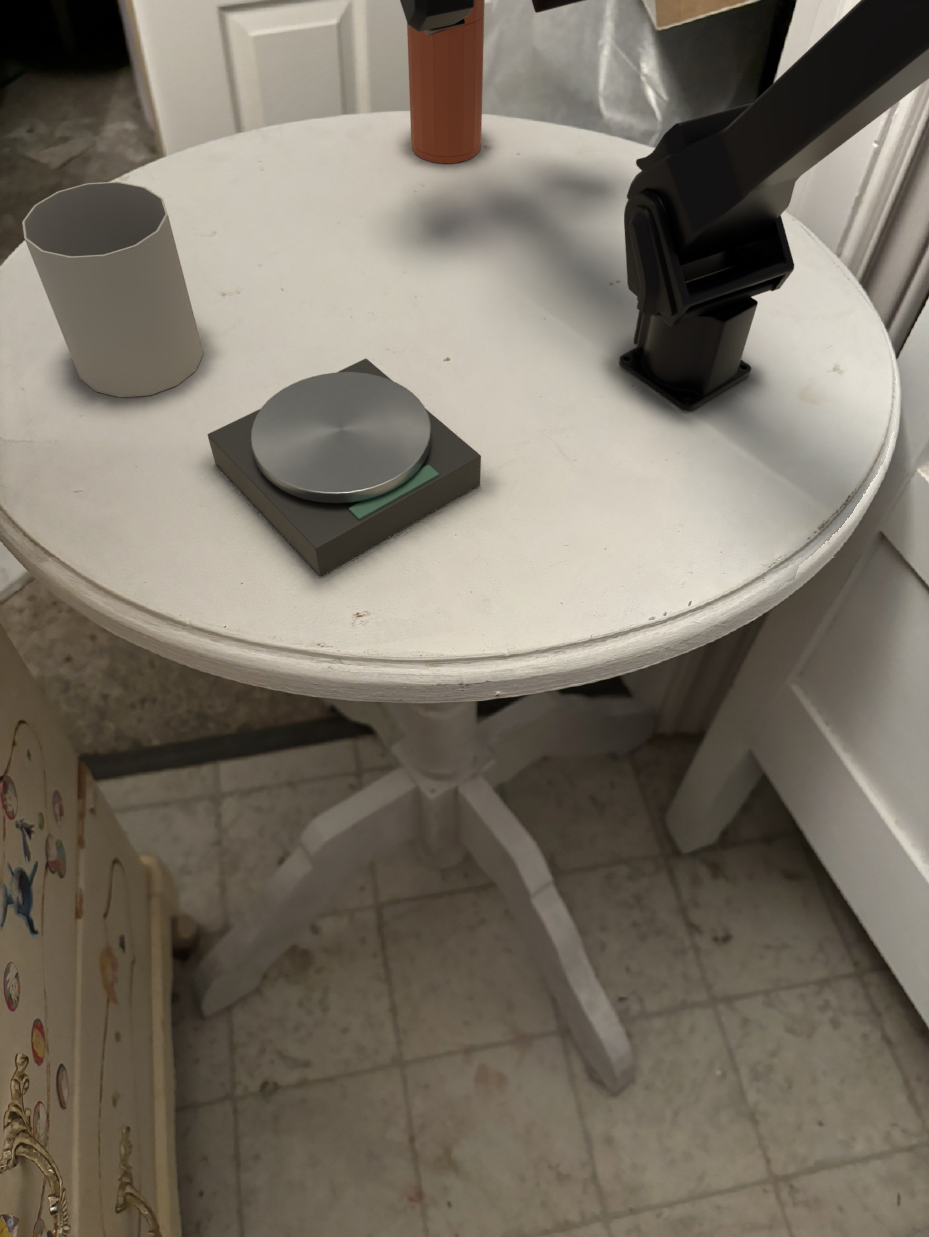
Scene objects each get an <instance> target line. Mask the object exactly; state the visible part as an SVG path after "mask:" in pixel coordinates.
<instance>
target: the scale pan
mask: <svg viewBox="0 0 929 1237" xmlns="http://www.w3.org/2000/svg"><path fill="white" fill-rule="evenodd" d="M336 372H337V373H336ZM336 372H329V373H322V374H318V375H313V376H310V377H306V378H303V379H301V380H298V381H296V382H293V383H292V384H289V385H288V386H285V387H284V388H282V389H280V390H279V391H277V392H276V393H275V394H274V395H272V396H271V397H270V398H269V399H267V401H266V402H265V403H264V404H263V405H262V406H261V407H260V408H259V409H260V411H259V412H258V414H257V415H256V418H255V420H254V422H253V425H252V429H251V447H252V451H253V455H254V458H255V461H256V464H257V466H258V467H259V469H260V471H261V472H262V473H263V475H264V476H265V477H266V478H267V479H268V480H269V481H270V482H271V483H272V484H274V485H275V486H277V487H278V488H280V489H281V490H283V491H285V492H287V493H289V494H291V495H293V496H296V497H299V498H302V499H306V500H310V501H315V502H323V503H350V502H356V501H363V500H366V499H370V498H374V497H377V496H380V495H382V494H385V493H387V492H389V491H391V490H393V489H395V488H397V487H399V486H400V485H402V484H403V483H405V482H406V481H407V480H409V479H410V478H411V477H412V476H413V475H414V474H415V473H416V472H417V471H418V470H419V469H420V467H421V466H422V464H423V463H424V461H425V459H426V457H427V455H428V453H429V449H430V446H431V424H430V419H429V415H428V413H427V411H426V409H427V408H426V407H425V405H424V404H423V403H422V401H421V400H420V398H418V397H417V396H416V394H414V392H412V391H411V390H409V389H408V388H407V387H405V386H403V385H402V384H400V383H398V382H396V381H394V380H392V379H391V380H392V381H391V380H389V379H386V378H383V377H380V376H376V375H371V374H366V373H357V372H338V371H336Z"/></svg>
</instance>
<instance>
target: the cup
mask: <svg viewBox="0 0 929 1237" xmlns="http://www.w3.org/2000/svg"><path fill="white" fill-rule="evenodd" d="M21 223H22V230H23V238H24V241H25V243H26V246H27V249H28V251H29V254H30V256H31V259H32V261H33V264H34V266H35V269H36V271H37V274H38V277H39V279H40V281H41V284H42V286H43V289H44V291H45V294H46V296H47V299H48V302H49V304H50V307H51V309H52V311H53V314H54V317H55V319H56V321H57V324H58V327H59V329H60V331H61V334H62V336H63V339H64V342H65V344H66V346H67V349H68V352H69V354H70V357H71V360H72V362H73V364H74V367H75V369H76V372H77V375H78V377H79V379H80V380H81V381H83V382H84V383H85V384H86V385H87V386H88V387H90V388H91V389H92V390H93V391H94V392H97V393H101V394H105V395H109V396H113V397H117V398H132V397H133V398H135V397H148V396H152V395H155V394H157V393H158V394H159V393H160V392H163V391H164V392H165V391H167V390H170V389H172V388H174V387H175V388H176V387H177V386H178V385H179V384H181V383H182V382H184V381H185V380H187V378H188V377H190V376H191V375H193V373H195V372H196V371H197V369H198V368H199V365H200V362H201V360H202V358H203V355H204V353H205V352H204V349H203V344H202V341H201V337H200V333H199V329H198V326H197V322H196V318H195V314H194V310H193V306H192V301H191V298H190V295H189V290H188V286H187V283H186V279H185V274H184V270H183V267H182V264H181V260H180V255H179V251H178V249H177V244H176V240H175V237H174V232H173V228H172V224H171V220H170V216H169V213H168V210H167V207H166V203H165V200H164V198H163V197H162V196H161V195H159V194H157V193H156V192H154V191H152V190H151V189H149V188H148V187H146V186H143V185H137V184H133V183H127V182H123V181H106V182H104V181H103V182H88V183H84V184H83V183H82V184H80V185H76V186H73V187H69V188H65V189H62V190H58V191H56V192H54V193H53V194H51V195H49V196H48V197H46V198H44V199H43V200H40V201H39V202H37V203H35V204H34V205H33V206H32V207H31V209H30V210H29V212H28V213H27V215H26V216H25V217H24V219H23V220H22V222H21Z"/></svg>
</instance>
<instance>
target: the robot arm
mask: <svg viewBox="0 0 929 1237" xmlns="http://www.w3.org/2000/svg"><path fill="white" fill-rule="evenodd" d="M584 1H586V0H531V3H532V6H533V10H534V13H536V14H537V13H542V12H546V11H550V10H553V9H558V8H562V7H566V6H568V5H569V6H570V5H572V4H577V3H582V2H584ZM399 2H400V4H401V8H402V11H403V14H404V17H405V20H406V25H407V24H408V25H409V26H411V27H412V28H414V29H415V30H417V31H418V32H420V31H425V34H426V36H430V35H433V34H437V33H440V32H443V31H446V30H449V29H452V28H455V27H458V26H461V25H464V24H465V20H464V18H465V17H467V16H468V15H469V14H470V12H471V11H472V9H473V8H474V0H399ZM928 80H929V0H859V1H858V2H857V3H856V4H855V5H854V6H853V7H852V8H851V9H850V10H849V11H848V12H847V13H845V14H844V16H842V17H841V18H840V19H839V20H838V21H837V22H836V23H835V24H834V25H833V26H832V27H830V29H829V30H827V32H826V33H824V35H822V36H821V37H820V38H819V39H818V40H817V41H816V42H815V43H814V44H813V45H812V46H811V47H810V48H809V49H807V51H805V52H804V54H803V55H801V56H800V57H799V58H798V59H797V60H796V61H795V62H794V63H793V64H792V65H791V66H790V67H788V68H787V69H786V71H785V72H783V74H781V76H780V77H778V78H777V79H776V80H775V81H774V82H773V83H772V84H771V85H770V86H768V87H767V89H765V90H764V92H763V93H762V94H760V95H759V96H758V97H757V98H756V99H755V100H754V101H753V102H751V103H747V104H744V105H739V106H736V107H731V108H728V109H725V110H721V111H717V112H713V113H710V114H707V115H703V116H698V117H695V118H691V119H688V120H685V121H680V122H677V123H675V124H673V125H672V126H671V127H670V128H669V129H668V130H667V131H666V132H665V133H664V134H663V135H662V137H661V139H660V140H659V141H658V143H657V145H656V146H655V148H654V149H653V150H652V152H650V153H649V154H648V155H646V156H644V157H641V158H637V159H636V160H635V164H636V167H638V169H639V170H640V172H638V173H637V174H636V175H635V176H634V178H633V179H632V181H631V182H630V185H629V188H628V190H627V194H626V199H627V201H626V204H625V207H624V212H623V226H624V245H625V246H624V248H625V264H626V265H625V266H626V280H627V288H628V290H629V291H630V292H631V293H632V294H633V295H635V296H636V297H637V298H636V301H637V305H636V309H637V310H638V314H637V320H636V326H635V331H634V335H633V336H634V337H633V344H634V345H635V346H636V347H634V348H633V349H631V350H629V351H627V352H625V353H623V354H622V355H620V357H619V359H618V360H619V361H618V366H619V367H621V368H622V369H623V370H625V371H626V372H628V373H629V374H631V375H632V376H634V377H635V378H636V379H637V380H639V381H641V382H642V383H643V384H645V385H646V386H648V387H649V388H651V389H652V390H653V391H655V392H656V393H658V394H659V395H660V396H662V397H663V398H665V399H666V400H668V401H669V402H671V403H672V404H673V405H674V406H676V407H677V408H679V410H682V411H686V412H691V411H693V410H694V409H696V408H698V407H699V406H701V405H703V404H704V403H706V402H707V401H709V400H710V399H711V400H712V399H713V398H715V397H716V396H718V395H719V394H720V393H722V392H724V391H726V390H728V389H729V388H731V387H732V386H734V385H735V384H738V383H739V382H740V381H742V380H744V379H746V378H747V377H749V376H750V374H751V370H752V367H751V365H750V364H749V363H747V362H745V361H744V360H742V357H743V354H744V350H745V347H746V344H747V341H748V338H749V334H750V331H751V327H752V325H753V324H752V323H753V321H754V318H755V314H756V311H757V307H758V305H759V302H758V300H757V299H755V298H753V297H755V296H758V295H761V294H764V293H766V292H774V291H778V290H780V289H781V288H782V286H783V285H784V284H785V282H786V281H787V280H788V278H789V277H790V276H791V274H792V273H793V271H794V270H795V262H794V258H793V255H792V251H791V247H790V243H789V240H788V236H787V233H786V229H785V225H784V222H783V217H782V214H783V213H784V212H785V211H786V210H787V209H788V207H789V206H790V203H791V201H792V196H793V193H794V189H795V186H796V182H797V181H798V180H799V178H801V177H802V176H803V175H805V173H807V172H808V171H809V170H811V169H812V168H813V167H814V166H816V165H817V164H818V163H820V162H821V161H823V160H824V159H825V158H827V156H829V155H831V153H833V152H834V151H836V150H837V149H838V148H840V147H841V146H842V145H843V144H845V143H846V142H847V141H848V140H850V139H852V138H853V137H854V136H855V135H857V134H858V133H860V131H862V130H863V129H865V128H866V127H867V126H868V125H870V124H871V123H872V122H873V121H875V120H876V119H878V118H879V117H881V116H882V115H883V114H884V113H886V112H887V111H888V110H889V109H891V108H892V107H894V106H895V105H896V104H897V103H899V102H900V101H901V100H903V99H905V97H906V96H908V95H909V94H910V93H912V92H913V91H914V90H916V89H917V88H918V87H920V86H921V85H922V84H925V82H926V81H928Z"/></svg>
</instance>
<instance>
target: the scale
mask: <svg viewBox="0 0 929 1237" xmlns="http://www.w3.org/2000/svg"><path fill="white" fill-rule="evenodd" d="M337 372H357V373H366V374H371V375H376V376H380V377H383V378H386V379H389V380H391V381H393V379H391V378H390V377H389V376H388V375H386V373H384V372H383V371H382V370H381V369H379V367H377V366H376V365H375V364H374V363H372V361H370V360H369V359H368V358H363V359H361V360H359V361H357V362H355V363H353V364H351V365H349V366H347V367H345V368H342V369H340V370H338V371H336V372H335V373H337ZM260 409H261V408H259V409H257V410H254V411H253V412H251V413H249V414H247V415H244V416H242V417H240V418H238V419H236V420H234V421H232V422H230V423H227V424H225V425H223V426H222V427H219V428H217V429H215V430H213V431H211V432H209V433H208V434H207V438H208V442H209V446H210V449H211V453H212V455H213V460H214V464H215V465H216V466H217V467H218V468H219V469H220V470H221V471H222V472H223V473H224V474H225V476H226V477H227V478H228V479H229V480H230V481H231V482H232V483H233V484H234V485H235V486H236V487H237V488H238V490H239V491H240V492H242V494H243V495H244V496H245V497H246V498H247V499H248V500H249V502H250V503H251V504H252V505H254V507H255V508H256V509H257V510H258V511H259V512H260V513H261V514H262V515H263V516H264V517H265V519H266V520H267V521H268V522H269V523H270V524H271V525H272V526H273V527H274V528H275V530H277V532H278V533H279V534H280V535H281V536H282V537H283V538H284V539H285V540H286V541H287V542H288V543H289V544H290V546H291V547H292V548H294V550H295V551H296V552H297V553H298V554H299V555H300V556H301V557H302V559H304V561H306V562H307V564H308V565H309V566H310V567H311V568H312V569H313V570H314V571H315V572H316V574H318V576H320V577H322V576H325V575H326V574H328V573H330V572H332V570H335V569H337V568H338V567H340V566H342V565H344V564H345V563H347V562H349V561H350V560H352V559H354V558H355V557H357V556H359V555H361V554H363V553H365V552H366V551H367V550H369V549H371V548H373V547H374V546H376V545H378V544H379V543H381V542H383V541H385V540H387V539H388V538H390V537H392V536H393V535H395V534H397V533H399V532H401V531H402V530H404V529H405V528H407V527H409V526H411V525H413V524H415V523H416V522H418V521H420V520H422V519H423V518H425V517H427V516H429V515H430V514H431V513H434V512H435V511H437V510H439V509H440V508H442V507H444V506H445V505H448V504H449V503H450V502H452V501H454V500H456V499H458V498H460V497H461V496H463V495H465V494H467V493H468V492H470V491H472V490H473V489H475V488H477V487H478V486H480V485H481V470H482V455H481V454H480V453H479V452H477V450H476V449H474V448H473V447H471V445H469V444H468V443H467V442H466V441H465V440H463V439H462V438H461V437H460V436H459V435H457V434H456V433H455V432H454V431H452V430H451V428H449V427H448V426H447V425H445V424H444V423H443V422H442V421H441V420H440V419H438V418H437V416H435V415H434V414H433V413H431V411H429V410H428V409H427V408H425V409H426V411H427V413H428V415H429V419H430V424H431V446H430V449H429V453H428V455H427V457H426V459H425V461H424V463H423V464H422V466H421V467H420V469H419V470H418V471H417V472H416V473H415V474H414V475H413V476H412V477H411V478H410V479H409V480H407V481H406V482H405V483H403V484H402V485H400V486H399V487H397V488H395V489H393V490H391V491H389V492H387V493H385V494H382V495H380V496H377V497H374V498H370V499H366V500H363V501H356V502H350V503H323V502H315V501H310V500H306V499H302V498H299V497H296V496H293V495H291V494H289V493H287V492H285V491H283V490H281V489H280V488H278V487H277V486H275V485H274V484H272V483H271V482H270V481H269V480H268V479H267V478H266V477H265V476H264V475H263V473H262V472H261V471H260V469H259V467H258V466H257V464H256V461H255V458H254V455H253V451H252V447H251V429H252V425H253V422H254V420H255V418H256V415H257V414H258V412H259V411H260Z"/></svg>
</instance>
